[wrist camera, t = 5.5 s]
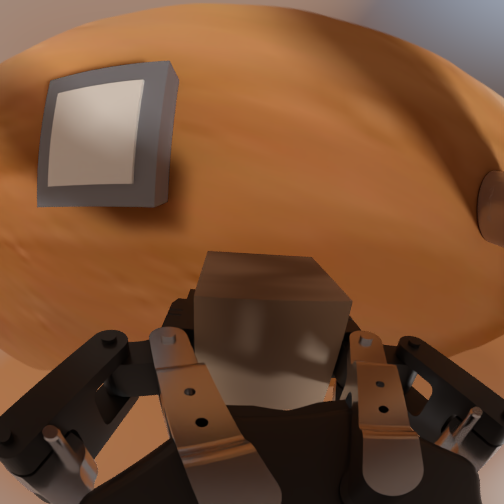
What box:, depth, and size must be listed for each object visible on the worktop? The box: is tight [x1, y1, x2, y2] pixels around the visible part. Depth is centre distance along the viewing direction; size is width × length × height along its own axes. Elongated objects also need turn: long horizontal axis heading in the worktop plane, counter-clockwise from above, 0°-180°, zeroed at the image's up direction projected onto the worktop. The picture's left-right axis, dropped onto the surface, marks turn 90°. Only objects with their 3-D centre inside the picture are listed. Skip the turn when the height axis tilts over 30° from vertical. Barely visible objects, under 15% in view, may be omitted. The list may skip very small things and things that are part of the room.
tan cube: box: [194, 251, 353, 410], centre depth 11 cm, size 5×5×5 cm
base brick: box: [37, 61, 179, 207], centre depth 16 cm, size 10×10×4 cm
